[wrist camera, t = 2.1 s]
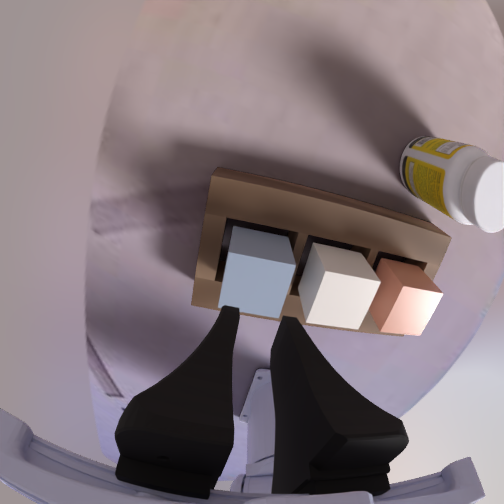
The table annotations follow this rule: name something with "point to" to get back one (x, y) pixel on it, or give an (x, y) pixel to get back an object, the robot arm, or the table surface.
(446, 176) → the supplement bottle
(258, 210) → the key block
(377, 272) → the red key
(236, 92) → the table surface
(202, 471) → the robot arm
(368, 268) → the white key
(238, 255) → the blue key
